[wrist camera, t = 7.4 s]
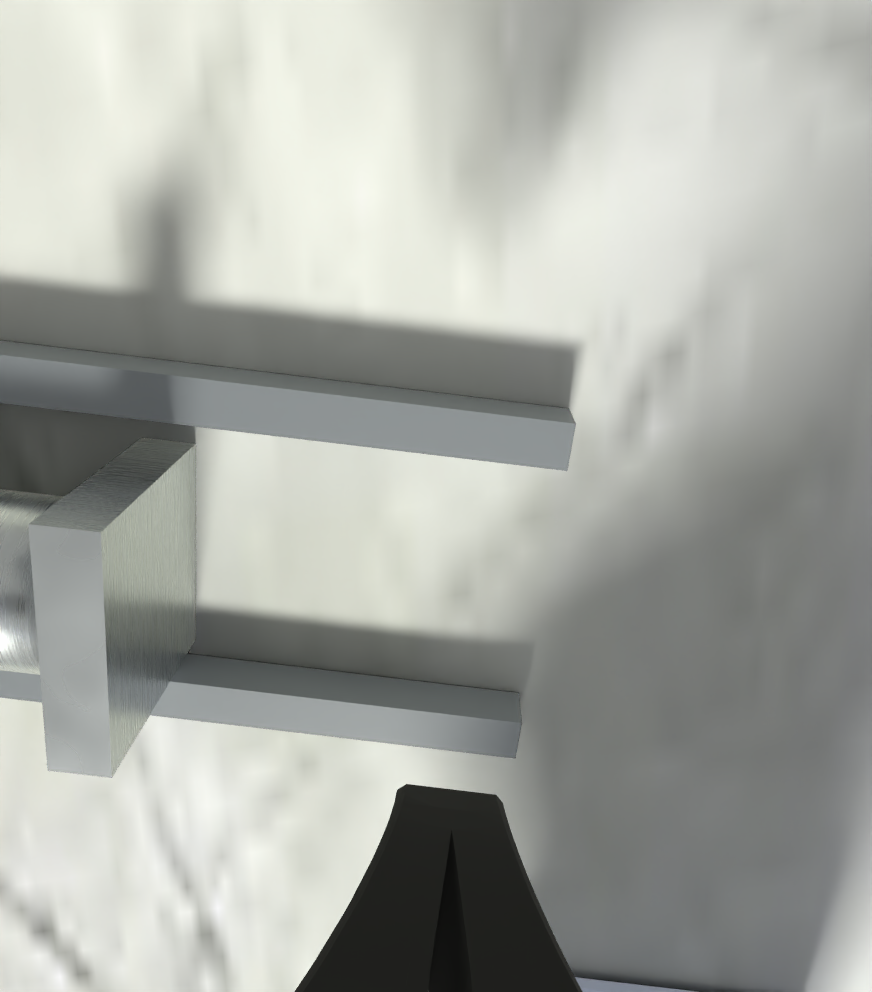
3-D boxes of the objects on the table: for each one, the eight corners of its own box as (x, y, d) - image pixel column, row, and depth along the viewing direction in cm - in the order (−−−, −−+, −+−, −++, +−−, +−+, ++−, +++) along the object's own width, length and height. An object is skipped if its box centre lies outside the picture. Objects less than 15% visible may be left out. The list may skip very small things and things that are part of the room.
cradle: (568, 408, 17) (575, 424, 16) (513, 727, 20) (515, 758, 19) (-156, 321, 17) (-199, 330, 16) (-107, 653, 20) (-141, 680, 19)
